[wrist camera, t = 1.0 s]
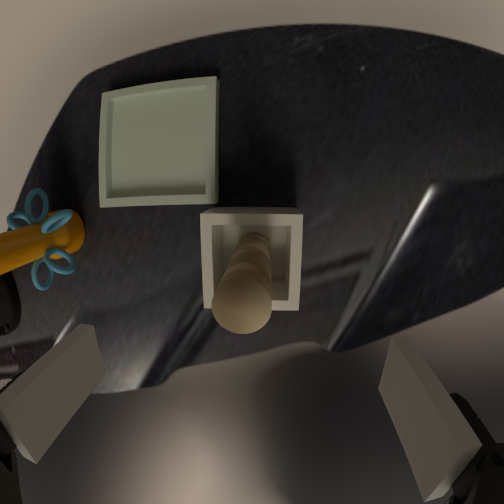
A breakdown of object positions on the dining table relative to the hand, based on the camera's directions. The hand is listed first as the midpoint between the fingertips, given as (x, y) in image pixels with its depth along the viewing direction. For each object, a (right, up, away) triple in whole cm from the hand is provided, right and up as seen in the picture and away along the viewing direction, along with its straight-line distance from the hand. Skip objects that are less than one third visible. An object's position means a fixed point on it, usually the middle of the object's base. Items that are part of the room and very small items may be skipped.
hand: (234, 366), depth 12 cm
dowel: (+1, +5, +21) cm, 22 cm away
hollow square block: (+1, +5, +22) cm, 23 cm away
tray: (-10, +17, +20) cm, 28 cm away
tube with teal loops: (-24, +8, +23) cm, 34 cm away
